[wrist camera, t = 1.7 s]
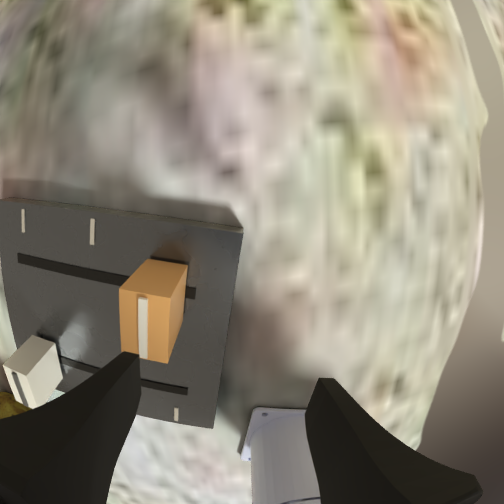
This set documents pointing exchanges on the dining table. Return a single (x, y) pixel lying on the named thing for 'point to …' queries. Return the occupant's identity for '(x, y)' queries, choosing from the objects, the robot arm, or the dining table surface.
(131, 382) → the robot arm
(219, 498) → the dining table surface
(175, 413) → the console
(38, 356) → the fader far
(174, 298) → the fader near
